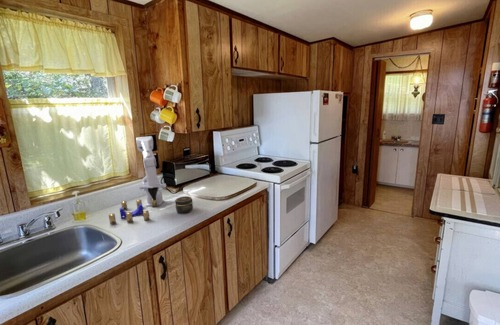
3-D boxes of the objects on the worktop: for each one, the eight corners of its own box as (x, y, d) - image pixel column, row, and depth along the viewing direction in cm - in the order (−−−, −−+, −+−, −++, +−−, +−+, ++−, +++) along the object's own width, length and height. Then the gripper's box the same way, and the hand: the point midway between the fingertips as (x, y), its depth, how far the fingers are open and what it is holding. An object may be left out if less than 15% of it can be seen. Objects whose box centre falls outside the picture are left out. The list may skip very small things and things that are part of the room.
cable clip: (142, 211, 158) (141, 202, 157) (143, 214, 154) (142, 205, 153) (120, 216, 152) (119, 207, 151) (121, 219, 148) (119, 209, 147)
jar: (174, 210, 158) (173, 198, 157) (190, 206, 163) (189, 195, 161) (178, 215, 150) (176, 203, 148) (195, 212, 154) (194, 199, 152)
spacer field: (157, 205, 167) (156, 198, 166) (149, 220, 145) (147, 212, 143) (123, 208, 164) (122, 201, 163) (109, 224, 142) (107, 216, 141)
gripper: (136, 180, 146) (140, 203, 149) (163, 178, 148) (166, 201, 151) (140, 177, 153) (143, 199, 156) (165, 175, 155) (168, 196, 158)
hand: (154, 199), depth 154 cm, fingers closed
